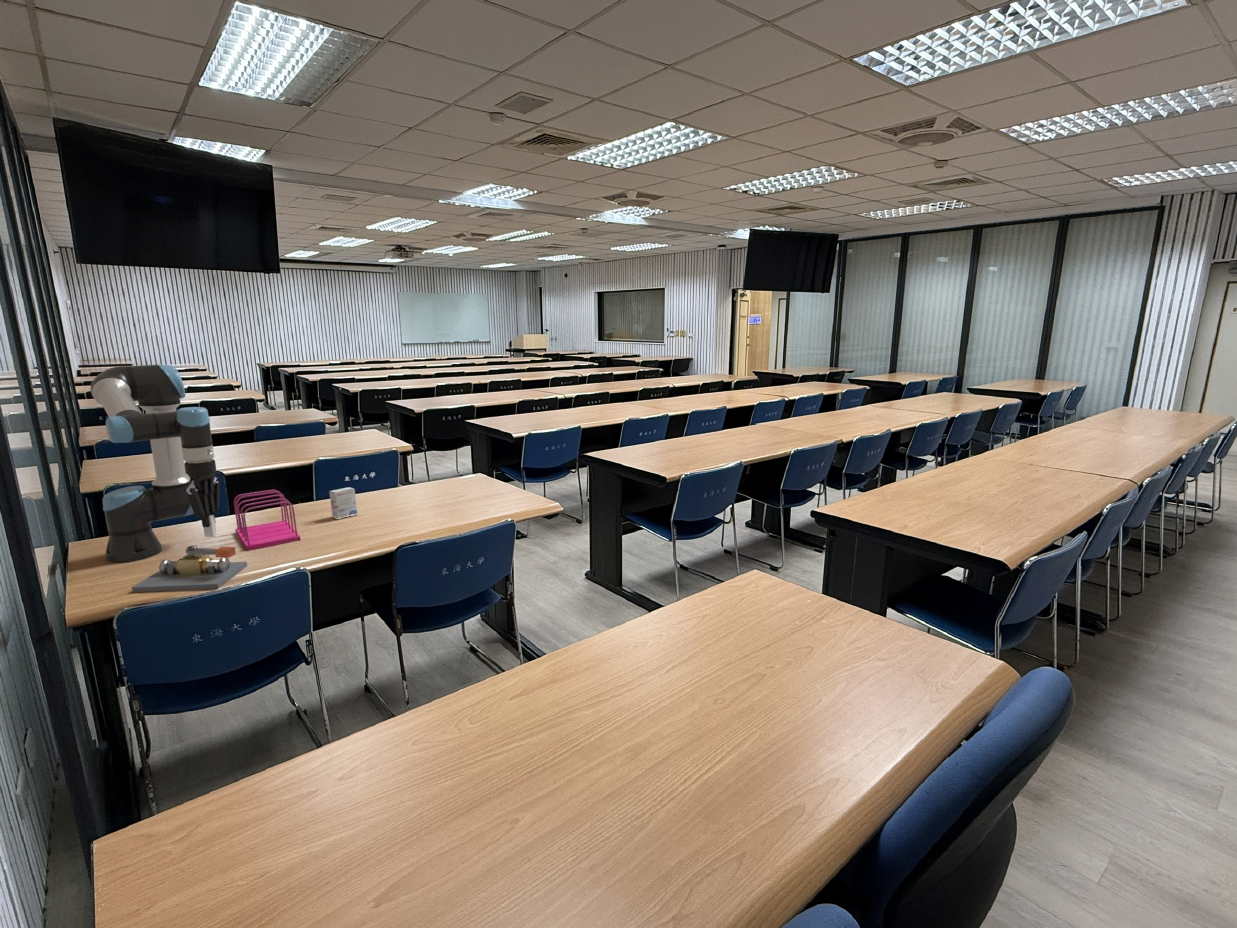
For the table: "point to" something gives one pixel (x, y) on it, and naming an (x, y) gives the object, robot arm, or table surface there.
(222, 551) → the valve lever
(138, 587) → the mounting board
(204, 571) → the valve pipe
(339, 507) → the ink box
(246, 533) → the file sorter
